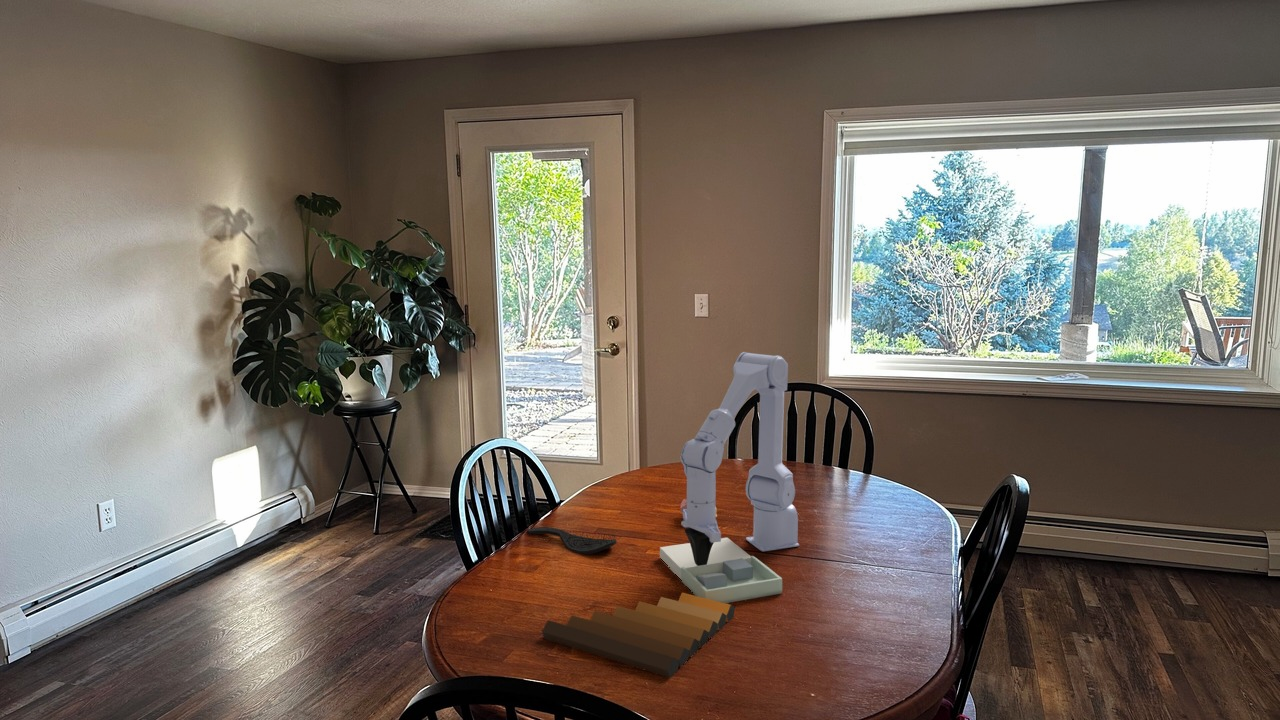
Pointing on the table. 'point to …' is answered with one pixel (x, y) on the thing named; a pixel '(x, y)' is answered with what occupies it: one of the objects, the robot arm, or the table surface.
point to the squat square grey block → (737, 569)
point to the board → (719, 553)
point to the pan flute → (646, 632)
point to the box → (738, 585)
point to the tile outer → (712, 580)
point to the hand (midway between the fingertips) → (700, 564)
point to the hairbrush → (577, 540)
